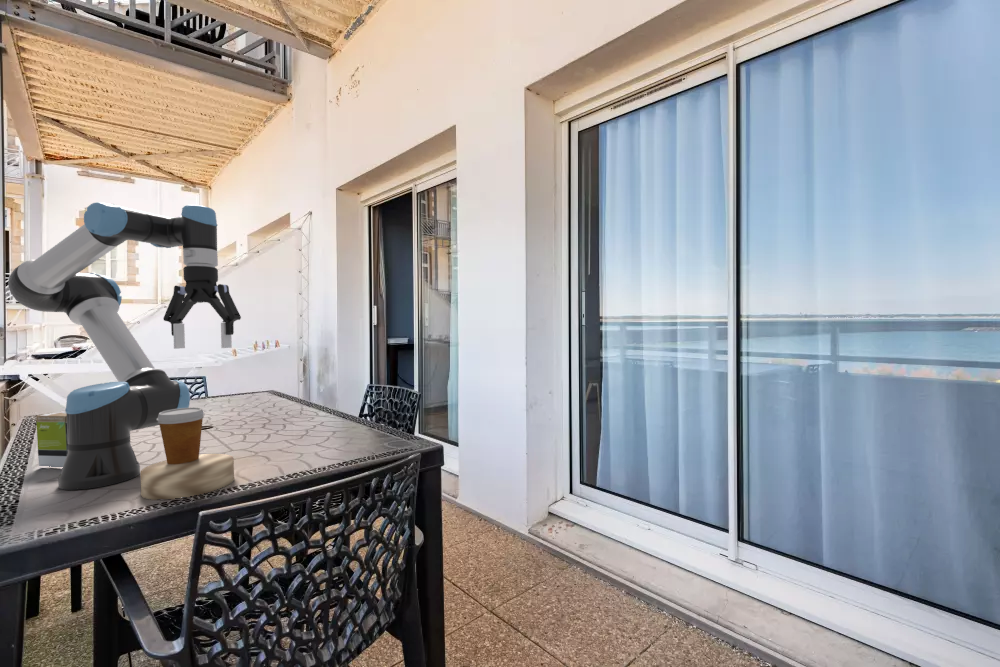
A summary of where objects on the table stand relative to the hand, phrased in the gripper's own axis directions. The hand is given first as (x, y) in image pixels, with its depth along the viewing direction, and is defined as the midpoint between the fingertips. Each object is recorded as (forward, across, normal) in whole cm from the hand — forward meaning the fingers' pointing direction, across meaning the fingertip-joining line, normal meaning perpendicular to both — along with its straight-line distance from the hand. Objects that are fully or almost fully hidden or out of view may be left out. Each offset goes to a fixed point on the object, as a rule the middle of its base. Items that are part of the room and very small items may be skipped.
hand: (202, 348), depth 120 cm
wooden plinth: (+32, +6, -12) cm, 34 cm away
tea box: (+32, -42, +4) cm, 53 cm away
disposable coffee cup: (+27, +2, -9) cm, 28 cm away
